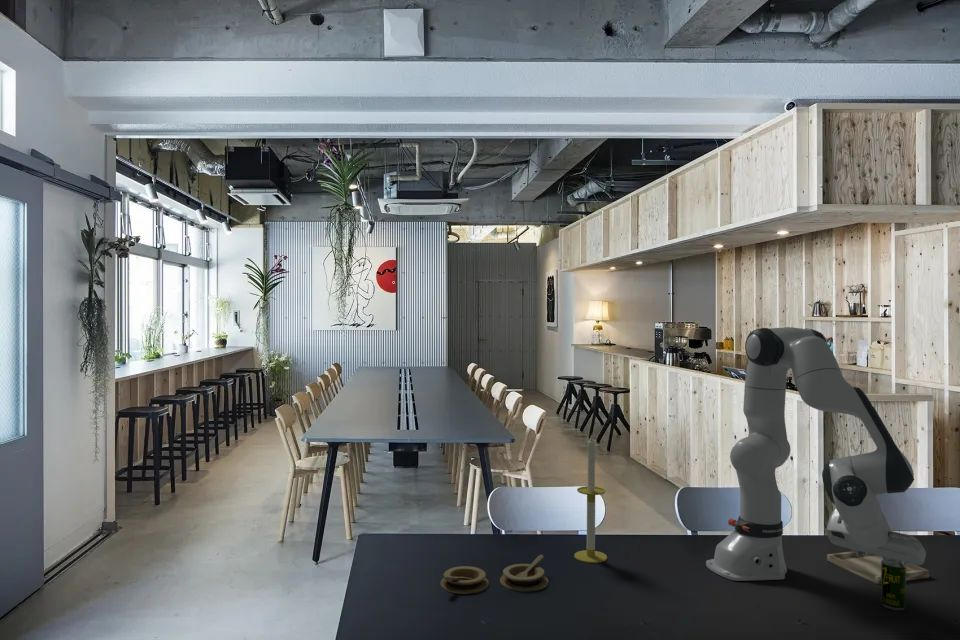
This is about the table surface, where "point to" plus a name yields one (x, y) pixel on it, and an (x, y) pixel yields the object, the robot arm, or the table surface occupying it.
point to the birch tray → (871, 566)
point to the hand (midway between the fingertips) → (882, 559)
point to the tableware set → (518, 574)
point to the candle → (591, 511)
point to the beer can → (893, 584)
